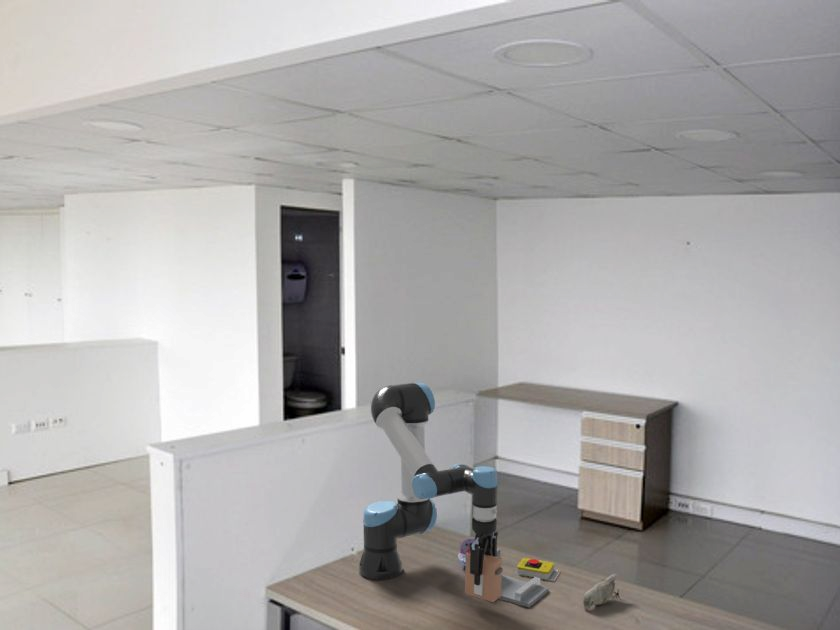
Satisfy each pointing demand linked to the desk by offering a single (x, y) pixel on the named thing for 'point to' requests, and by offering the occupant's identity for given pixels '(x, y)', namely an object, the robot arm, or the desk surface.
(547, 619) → the desk surface
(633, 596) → the desk surface
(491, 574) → the cabinet block
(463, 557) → the cell model
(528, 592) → the strip
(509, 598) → the gray bracket stand
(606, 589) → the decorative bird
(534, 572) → the emergency button
